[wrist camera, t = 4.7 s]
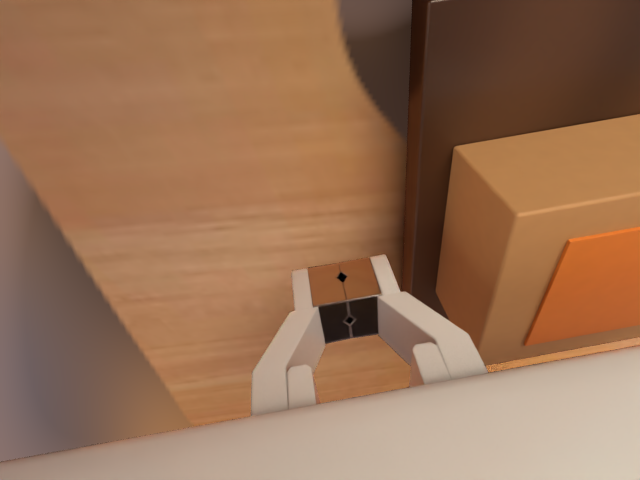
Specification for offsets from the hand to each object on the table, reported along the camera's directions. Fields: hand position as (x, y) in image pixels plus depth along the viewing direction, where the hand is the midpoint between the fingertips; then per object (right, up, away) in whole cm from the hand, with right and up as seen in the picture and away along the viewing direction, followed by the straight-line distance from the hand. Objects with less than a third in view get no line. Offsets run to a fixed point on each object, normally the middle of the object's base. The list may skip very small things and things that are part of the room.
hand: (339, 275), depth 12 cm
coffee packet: (+8, +2, +1) cm, 8 cm away
